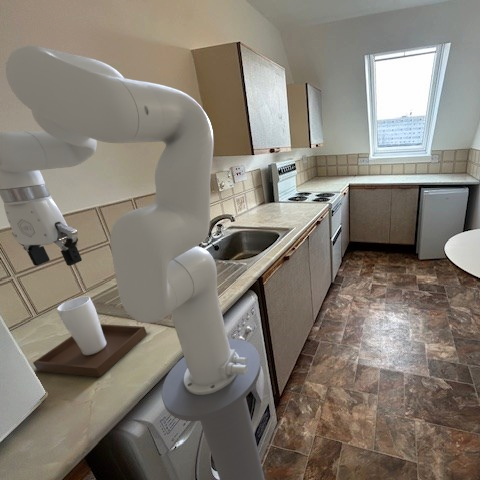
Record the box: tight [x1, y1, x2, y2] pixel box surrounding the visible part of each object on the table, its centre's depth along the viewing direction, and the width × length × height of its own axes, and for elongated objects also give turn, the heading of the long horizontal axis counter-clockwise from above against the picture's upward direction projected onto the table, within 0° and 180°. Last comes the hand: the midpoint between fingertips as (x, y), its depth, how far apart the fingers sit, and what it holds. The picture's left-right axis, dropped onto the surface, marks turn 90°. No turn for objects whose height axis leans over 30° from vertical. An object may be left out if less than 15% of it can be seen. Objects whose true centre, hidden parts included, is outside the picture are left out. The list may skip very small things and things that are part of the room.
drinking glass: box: [56, 295, 107, 355], centre depth 71 cm, size 7×7×15 cm
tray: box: [32, 323, 148, 378], centre depth 73 cm, size 19×15×3 cm
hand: (58, 263), depth 66 cm, fingers open, 9 cm apart
